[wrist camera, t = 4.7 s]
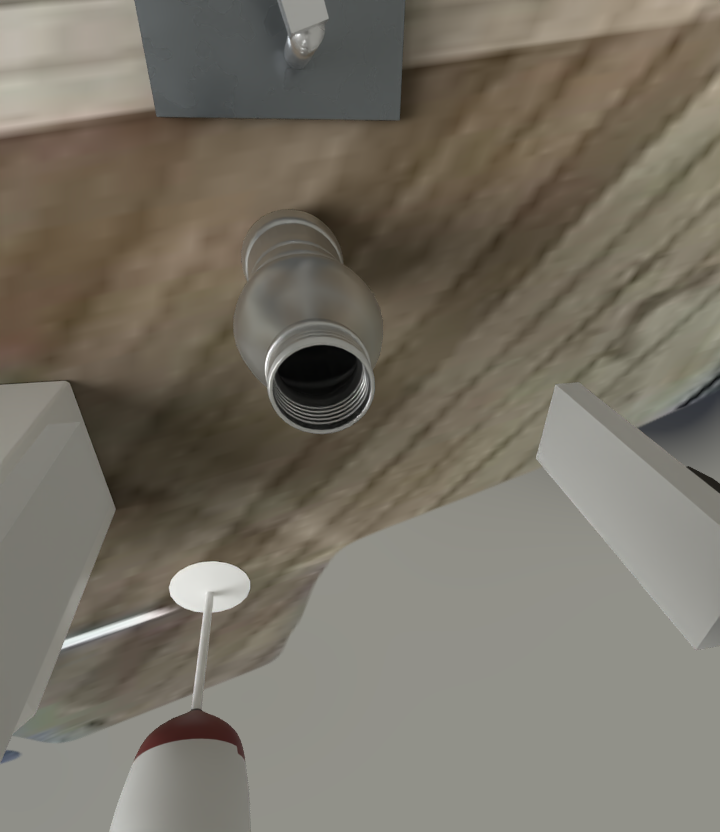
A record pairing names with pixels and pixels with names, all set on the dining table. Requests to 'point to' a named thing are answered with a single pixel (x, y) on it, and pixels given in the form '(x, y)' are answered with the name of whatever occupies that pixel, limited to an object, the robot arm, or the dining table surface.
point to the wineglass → (192, 737)
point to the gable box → (3, 449)
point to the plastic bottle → (307, 323)
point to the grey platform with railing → (274, 58)
